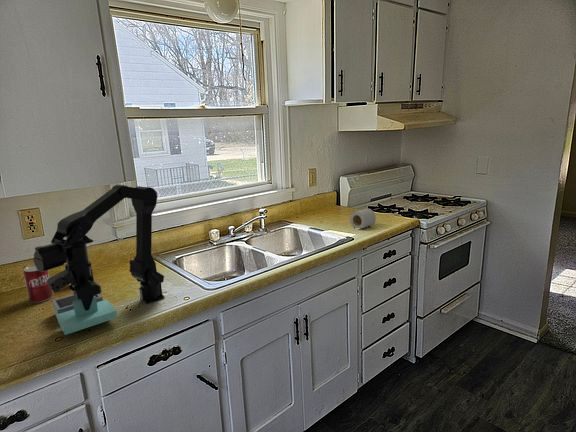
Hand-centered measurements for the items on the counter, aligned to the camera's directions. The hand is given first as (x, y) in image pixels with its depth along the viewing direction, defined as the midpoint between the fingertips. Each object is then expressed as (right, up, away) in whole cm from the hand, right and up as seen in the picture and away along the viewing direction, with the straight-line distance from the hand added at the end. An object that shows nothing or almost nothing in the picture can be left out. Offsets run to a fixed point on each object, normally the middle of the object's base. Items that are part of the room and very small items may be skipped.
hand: (86, 308), depth 116 cm
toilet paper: (+103, +21, +98) cm, 143 cm away
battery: (-19, +2, +35) cm, 40 cm away
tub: (-8, -4, +11) cm, 14 cm away
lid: (0, -3, +1) cm, 4 cm away
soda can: (-28, -2, +22) cm, 36 cm away
